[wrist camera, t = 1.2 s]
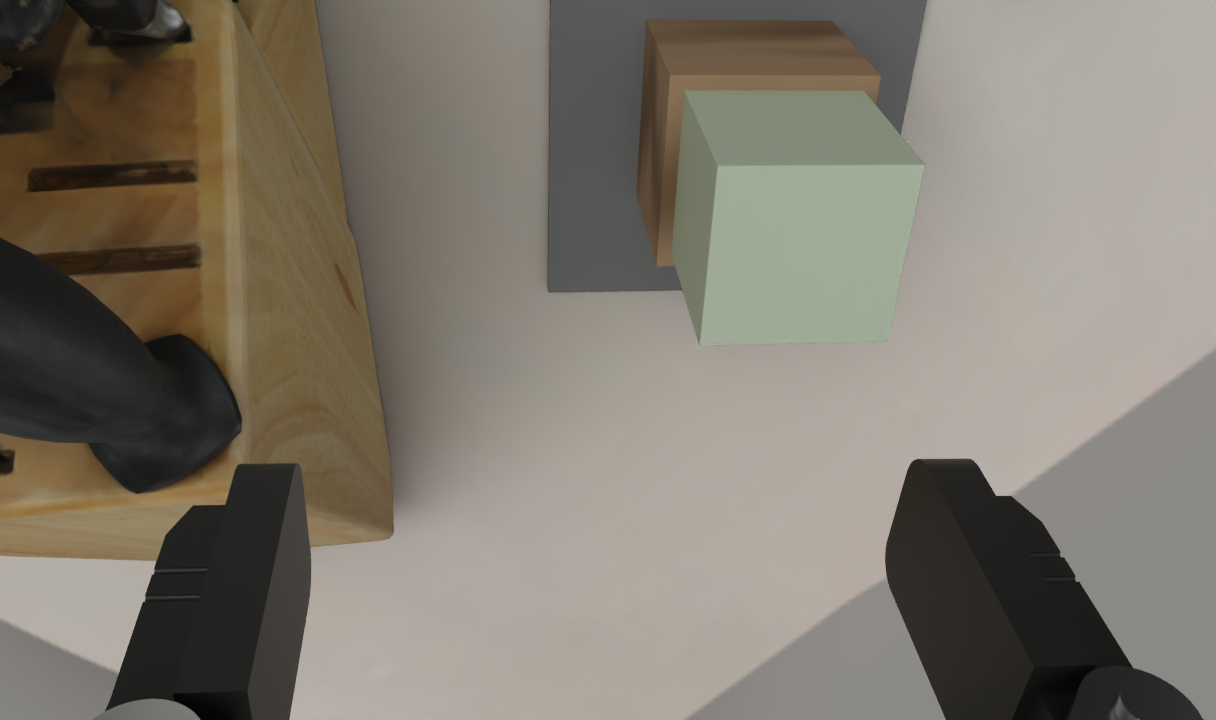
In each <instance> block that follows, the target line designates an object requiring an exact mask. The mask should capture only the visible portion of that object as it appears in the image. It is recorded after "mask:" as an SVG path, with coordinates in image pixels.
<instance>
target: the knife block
mask: <svg viewBox="0 0 1216 720" xmlns="http://www.w3.org/2000/svg"><path fill="white" fill-rule="evenodd" d="M264 463H298V464H299V465H300V467H301V471H302V478H303V487H304V496H305V505H306V515H307V524H308V533H309V542H310V547H318V546H329V545H340V544H350V543H360V542H370V541H380V540H385V539H389V538H390V537H392V535H393V533H394V526H393V497H392V475H391V464H390V456H389V449H388V442H387V435H386V429H385V422H384V415H383V409H382V403H381V397H380V391H379V385H378V378H377V372H376V366H375V359H374V352H373V346H372V339H371V332H370V326H369V319H368V313H367V307H366V300H365V294H364V287H363V281H362V275H361V268H360V262H359V257H358V252H357V247H356V241H355V239H354V237H353V235H352V233H351V231H350V229H349V227H348V225H347V212H346V205H345V198H344V190H343V183H342V176H341V169H340V162H339V155H338V148H337V142H336V135H335V129H334V122H333V116H332V109H331V103H330V96H329V90H328V83H327V76H326V70H325V63H324V57H323V51H322V44H321V38H320V32H319V26H318V20H317V13H316V7H315V1H314V0H0V556H21V557H51V558H82V559H113V560H145V561H157V559H158V556H159V553H160V550H161V547H162V544H163V541H164V538H165V535H166V534H167V533H168V532H169V531H170V529H171V528H172V527H173V526H174V525H175V524H176V523H177V522H178V521H179V520H180V519H181V518H182V517H183V516H184V514H185V513H186V512H187V511H188V510H189V509H190V508H191V507H192V506H193V505H225V504H226V501H227V497H228V493H229V490H230V486H231V483H232V479H233V476H234V472H235V469H236V467H237V465H238V464H264Z"/></svg>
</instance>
